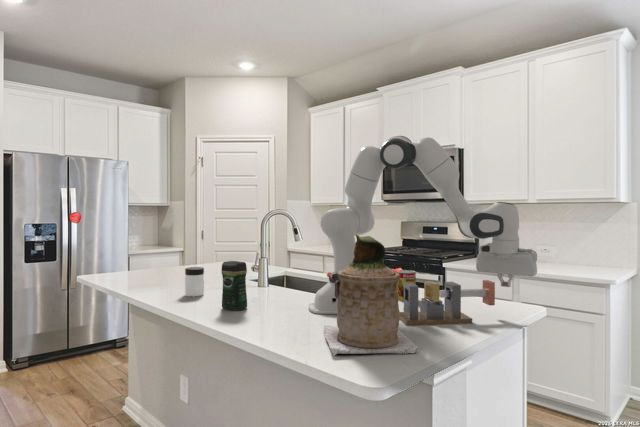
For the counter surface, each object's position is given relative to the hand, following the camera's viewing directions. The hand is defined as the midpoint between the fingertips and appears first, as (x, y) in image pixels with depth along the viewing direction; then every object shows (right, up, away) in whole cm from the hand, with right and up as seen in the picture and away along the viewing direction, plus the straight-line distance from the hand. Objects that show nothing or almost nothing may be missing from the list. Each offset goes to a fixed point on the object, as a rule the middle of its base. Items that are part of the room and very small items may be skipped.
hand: (505, 286), depth 158 cm
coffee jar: (-99, -11, +16) cm, 101 cm away
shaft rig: (-27, -11, -2) cm, 29 cm away
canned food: (-29, -11, +30) cm, 44 cm away
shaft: (-15, -6, -1) cm, 16 cm away
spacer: (-27, -4, -3) cm, 27 cm away
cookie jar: (-52, -12, -27) cm, 60 cm away
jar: (-122, -11, +43) cm, 130 cm away
